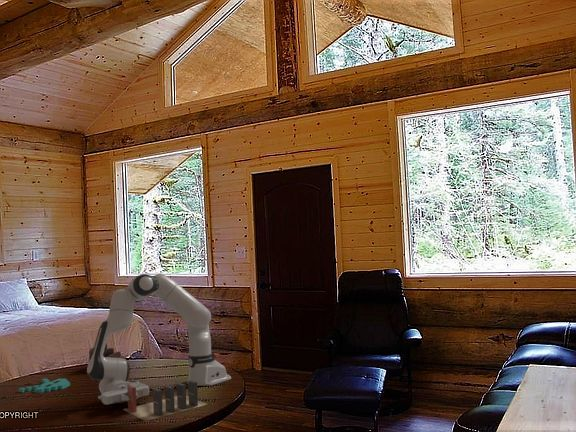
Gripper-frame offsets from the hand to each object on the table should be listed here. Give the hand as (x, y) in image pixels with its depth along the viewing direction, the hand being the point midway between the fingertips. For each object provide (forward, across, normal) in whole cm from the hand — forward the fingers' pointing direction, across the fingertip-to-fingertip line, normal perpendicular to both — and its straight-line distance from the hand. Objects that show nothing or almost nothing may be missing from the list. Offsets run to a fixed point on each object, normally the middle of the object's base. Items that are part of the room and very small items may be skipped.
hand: (132, 397), depth 231 cm
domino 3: (+12, +16, +6) cm, 21 cm away
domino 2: (+12, +11, +6) cm, 17 cm away
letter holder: (-94, +25, +7) cm, 98 cm away
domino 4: (+12, +22, +6) cm, 26 cm away
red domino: (-1, 0, +6) cm, 6 cm away
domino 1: (+12, +5, +6) cm, 14 cm away
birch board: (+5, +12, +7) cm, 15 cm away
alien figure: (-77, -12, +7) cm, 78 cm away
